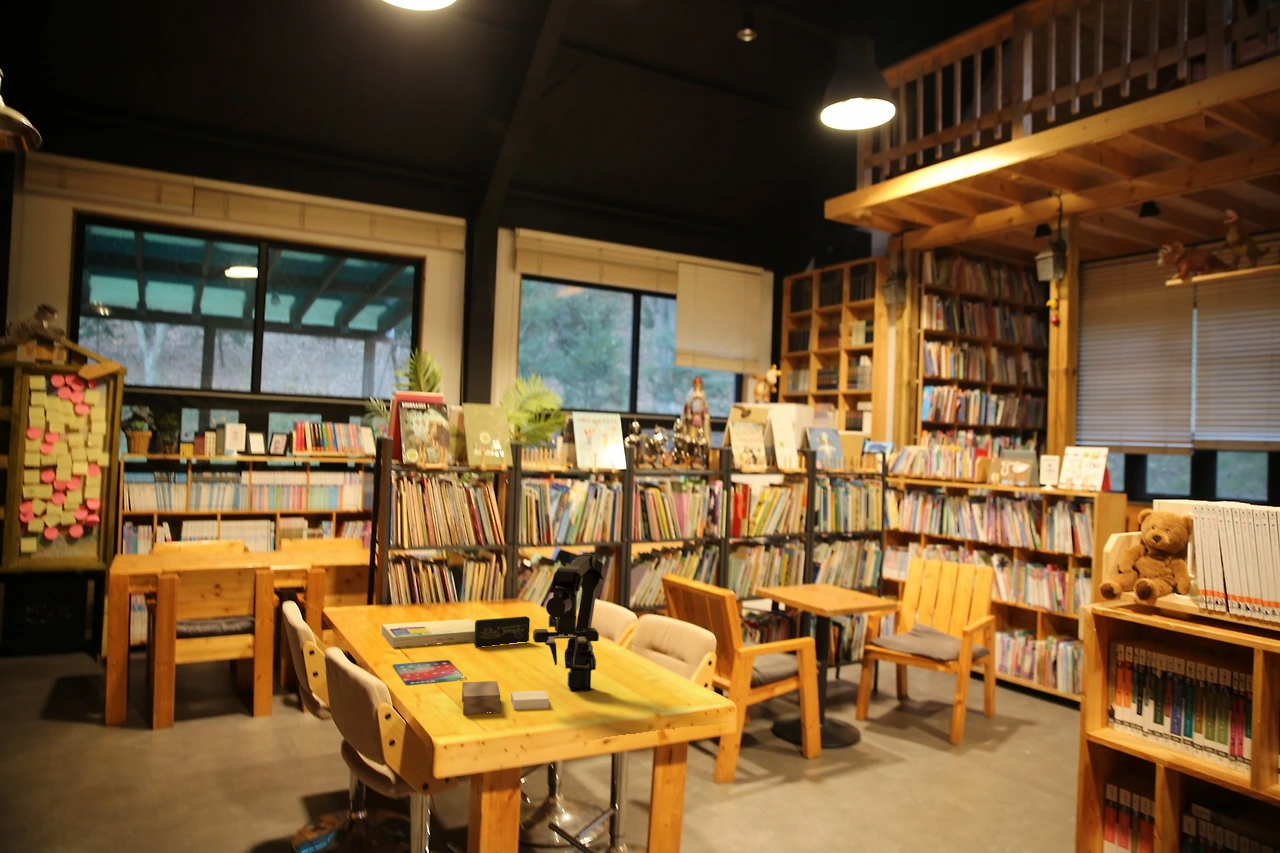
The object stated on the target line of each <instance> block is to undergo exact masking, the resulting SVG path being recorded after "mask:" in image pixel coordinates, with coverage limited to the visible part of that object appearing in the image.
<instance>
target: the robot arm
mask: <svg viewBox="0 0 1280 853" xmlns="http://www.w3.org/2000/svg"><path fill="white" fill-rule="evenodd" d="M606 577H607V569H606V568H605V565H604V563H603V562H601V561H600V560H598V559H597V557H596V556H595V555H594V554H590V553H580V554H578V556H577V558H576V559H575V560H573V562H571V563H570V564H569V565H566V566H560V567H558V568H557V569H556V570H555V571H554V573H553V577H552V581H551V585H550V590H549V592H550V593H552V597H551V598H549V599H548V601H547V602H546V605H545V609H546V613H547V614H548V615H549V616H548V628H554V631H549V630H548V629H547V628H536V629H534V630H533V632H532V638H533V642H534V643H537V644H538V643H539V644H540V643H543V644H545V646H548V647H549V648H550V651H551V654H552V655H551V656H552V660H553V662H554V666H557V665H558V653H557V643H556V642H555V641H556V639H568V640H567V645H566V646H567V647H566V649H565V651H564V668H565V669H567V670H568V669H569V671H568V672H567V687H568V688H569V690H570V691H571V692H577V691H578V692H579V691H582V692H583V691H592V689H593V688H592V687H591V685H592V684H591V683H592V682H591V681H592V671H596V670H597V669H596V668H597V659H596V655H595V654H594V651H593V650H594V646H593V644H592V642H599V638H600V636H599V635H600V634H599V631H597V629H596V628H595V627H592V623H593V616H594V610H595V605H596V597H597V596H596V595H597V593H598V592H599V591H600V590H601V588H602V587H603V586H604V580H606ZM580 590H581V596H580V600H579V606H577V604H578V603H577V602H578V600H577V599H578V594H579V593H578V592H579V591H580ZM577 607H579V608H578V612H577ZM577 613H578V614H577Z"/></svg>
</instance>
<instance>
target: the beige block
mask: <svg viewBox="0 0 1280 853" xmlns="http://www.w3.org/2000/svg"><path fill="white" fill-rule="evenodd" d="M510 702H511V706H512V710H526V709H527V710H528V709H530V708H532V709H547V708H550V707H549V705H550V698H549V696H548V694H547V691H546V690H526V691H525V690H524V691H523V690H522V691H511V692H510ZM530 710H531V709H530Z"/></svg>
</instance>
